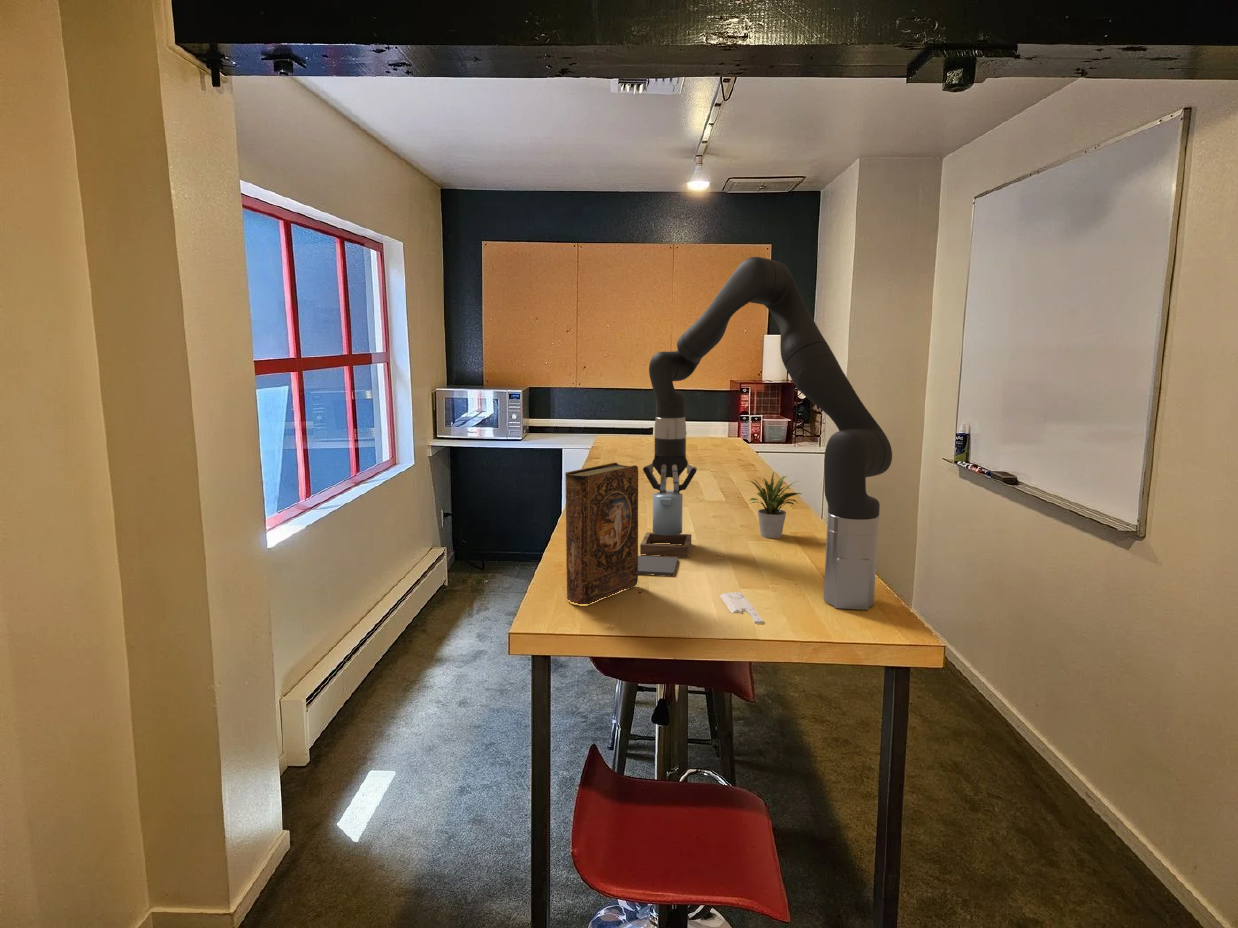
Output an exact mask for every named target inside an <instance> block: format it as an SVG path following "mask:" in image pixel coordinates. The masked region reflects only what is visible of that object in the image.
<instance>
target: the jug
mask: <svg viewBox="0 0 1238 928" xmlns="http://www.w3.org/2000/svg"><path fill="white" fill-rule="evenodd" d="M666 491H667V492H660V491H658V492H654V493H653V494H652V533H655V534H658V535H678V534H683V499H684V497H683V496H684V495H683V493H680V492H679V493H677V492H673V491H674V489H667V490H666Z"/></svg>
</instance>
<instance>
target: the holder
mask: <svg viewBox="0 0 1238 928" xmlns="http://www.w3.org/2000/svg"><path fill="white" fill-rule="evenodd" d="M649 543H670V544H681V545H668V544H649ZM691 546H692V534H690V533H689V534H687V533H685V534H684V533H681V534H678V535H658V534H655V533H653V532H646V533H645V535H644V537H643V539H642V541H641V543H640V546H639V549H640V550H639V552H640V553H639V555H640V554H646V555H660V556H659V557H666V556H671V557H676V558H689V555H690V552H691V551H690V550H691Z"/></svg>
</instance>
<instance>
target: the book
mask: <svg viewBox="0 0 1238 928" xmlns="http://www.w3.org/2000/svg"><path fill="white" fill-rule="evenodd" d="M565 538H566V539H565V540H566V541H565V543H566V544H565V546H566V548H565V549H566V554H565V555H566V600H567V599H568V600H570V601H571V602H574V603H578V604H590V603H592V602H595V601H597V600H599V599H601V598H604V597H608V596H610V595H612V594H615V593H617V592H619V591H621V590H624V589H628V588H630V589H632V588H634V587H636V586H637V584H638V582H639V581H638V579H639V574H638V556H639V467H638V465H622V464H618V462H610V463H606V464H601V465H594V466H590V467H585V468H580V469H576V470H572V471H565ZM635 585H636V586H635ZM633 586H634V587H633ZM631 587H632V588H631ZM628 590H629V589H628Z"/></svg>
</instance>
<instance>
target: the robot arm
mask: <svg viewBox="0 0 1238 928" xmlns="http://www.w3.org/2000/svg"><path fill="white" fill-rule="evenodd" d="M749 303H752V304H756V305H757V304H758V305H762V306H764V307H766V308H767V309H768V310H769V312H770V314H771V316H772V317H773V319H774V321H775V322H776V324H777V327H778V329H779V332H780V333H779V334H780V342H779V343H780V347H779V348H780V357H781V360H782V363H783V365H784V368H785V370H786V371H787V373H788V375H789V377H790V378H791V381H792V383H793V384H794V385H795V387H796V388H797V390H799V392H800V393H801V394H802V395H803V396H804V397H805V398H806V399H808V400H809V401H810V402H811V403H813V405H815V406H816V407H818V408H819V409H820V410H821V411H823V412H824V413H825V414H826V415H827V416H828V417H829V419H830V420H831V421H832V422H833V423H834V424H835V426H836V428H837V429H838V431H836V432H835V433H833V434H832V435H831V436H830V437H829V438H828V441H827V443H826V446H825V451H824V460H823V461H824V462H823V463H824V466H823V467H824V469H823V470H824V473H823V474H824V476H823V477H824V478H823V479H824V481H823V482H824V488H823V489H824V496H825V500H826V503H827V525H826V540H825V541H826V544H825V546H826V547H825V561H824V581H823V582H824V585H823V601H825V603H827V604H828V605H831V606H833V607H834V609H842V610H843V609H845V610H846V609H847V610H861V611H864V610H866V611H869V609H870V608H871V607H872V606H874V604H875V592H876V591H875V590H876V589H875V588H876V587H875V586H876V568H877V557H878V553H877V552H878V538H879V537H878V536H879V523H880V522H879V521H880V508H881V507H880V502H879V500H878V498H876V497H874V496H870V495H869V494H868V493H867V485H866V482H867V481H866V480H867V479H866V478H870V477H871V478H872V477H875V476H879V475H882V474H884V473H885V472H887V471H888V469H890V466H891V464H892V461H893V450H892V446H891V443H890V441H889V438H888V437H887V434H886V433H885V431H884V430H883V429H882V428H881V426H880V425H879V423H878V422H877V421H876V419H875V418H874V417H873V415H872V414H871V412H869V410H868V409H867V407H866V406H865V404H864V403H863V401H861V398H860V397H859V396H858V394H857V392H856V391H855V389H854V387H853V385H852V384H851V382H850V380H849V379H848V377H847V376H846V374H845V373H844V371H843V369H842V367H841V365H840V364H839V361H838V360H837V358H836V356H835V354H834V352H833V351H832V349H831V347H830V345H829V343H828V342H827V340H826V339H825V338H824V336H823V334H822V333H821V331H820V329H819V327H818V326H817V324H816V321H815V320H814V319H813V316H812V315H811V313H810V312H809V309H808V308H807V306H806V304H805V301H804V300H803V297H802V294H801V293H800V291H799V288H798V286H797V284H796V281H795V279H794V277H793V275H792V273H791V271H790V270H789V267H788V266H786V264H784V263H782V262H780V261H778V260H774V259H770V258H765V257H761V256H750V257H748V258H746V259H744V260H743V261H741V262H740V264H739V265H738V266H737V267H736V268H735V270H734V271H733V272H732V274H731V275H730V277H729V278H728V279H727V281H726V282H725V283H724V285H723V287H722V288H721V289H720V290H719V292H718V293H717V294H716V296H715V297H714V298H713V300H712V301H711V303H710V304H709V306H708V307H707V308H706V310H705V311H704V312H703V313H702V314H701V315H700V317H698V319H696V321H695V322H693V323H692V324H691V325H690V326H689V327H688V328H687V329H686V330H685V331H684V332H683V333H682V334H681V335H680V336H679V337H678V340H677V342H676V348H677V350H675V351H671V350H670V351H659V352H656V353H655V354H654V355H652V357H651V359H650V362H649V365H648V374H649V375H648V376H649V378H650V379H649V380H650V382H651V386H652V390H653V394H654V397H655V421H654V457H653V460H652V462H651V463H650V464H648V465H645V466H644V467H643V468H642V471H643V473H644V474H645V476H646V478H647V480H648V481H649V483H650V484H651V487H652V489H654V490H658V492H667V490H666V489H667V480H668V478H671V479H672V484H673V490H674V491H673V492H677V493H680V491H686V489H687V487H688V486H689V485H690V483H691V481H692V480H693V478H694V476H695V474H696V473H697V470H698V468H697V467H696V466H693V465H691V464H689V461H688V459H687V423H686V398H685V397H686V396H685V394H684V393H682V392H680V391H676V390H675V387H674V382H680V381H684V380H686V379H687V378H689V377H691V375H692V374H693V373H694V371H695V370H696V369H697V367H698V365H700V362H701V360H702V359H703V358H704V357H705V356H706V355H707V354H708V353H709V352H711V350H712V349H714V348H715V347H716V346H717V345H718V344H719V342H721V340H722V339H723V337H724V335H725V333H726V330H727V327H728V325H729V321H730V319H731V318H732V317H733V315H735V314H736V312H738V311H739V310H741V308H743V307H745V306H746V305H748V304H749ZM654 469H655V470H654ZM685 469H686V474H687V476H686V478H685V480H683V483H682V484H680V476H681V474H682V473H683V472H684V471H685ZM654 471H657V474H658V475H659V476H660V483H658V481H657V479H656V477H655V475H654V474H653V473H654Z"/></svg>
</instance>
